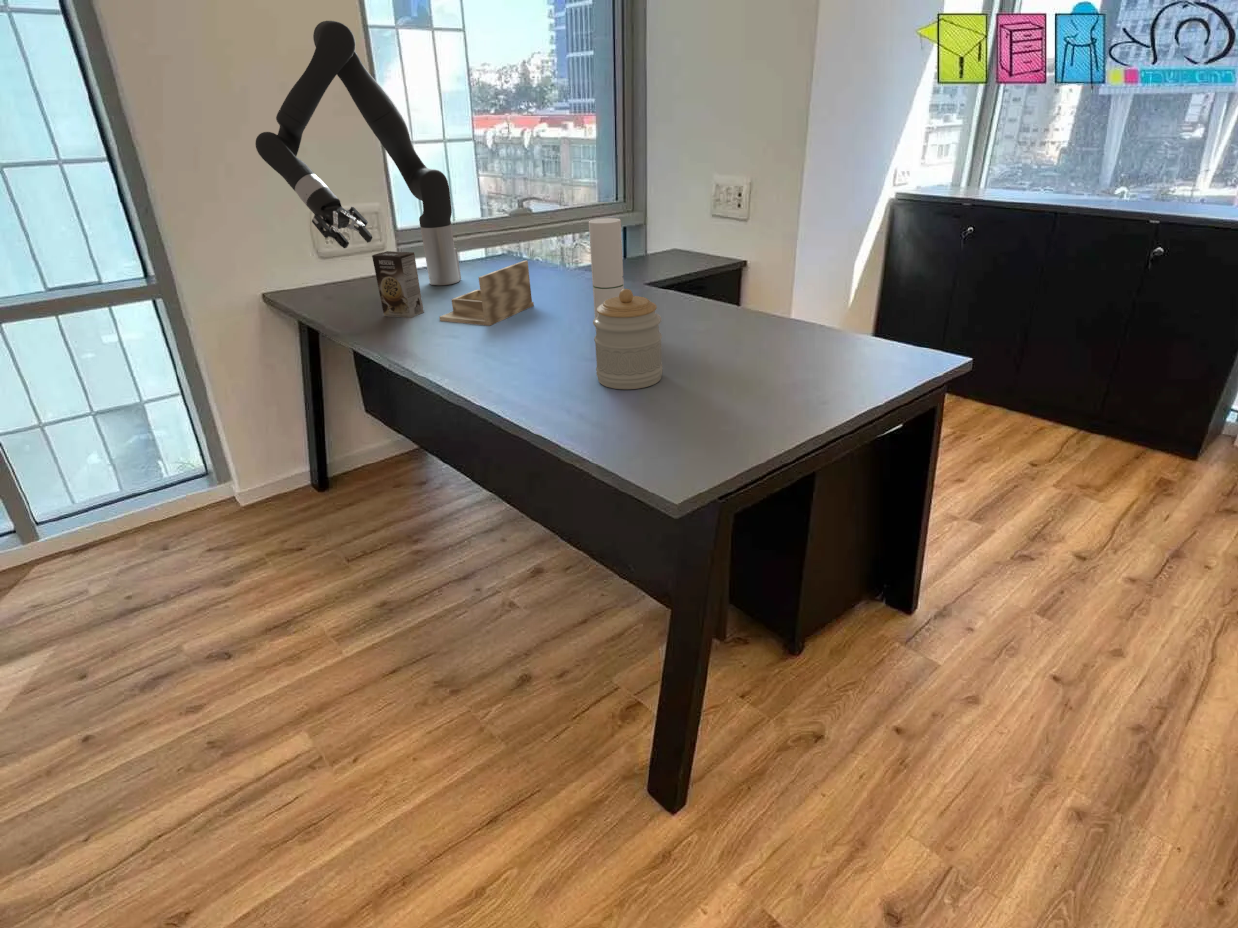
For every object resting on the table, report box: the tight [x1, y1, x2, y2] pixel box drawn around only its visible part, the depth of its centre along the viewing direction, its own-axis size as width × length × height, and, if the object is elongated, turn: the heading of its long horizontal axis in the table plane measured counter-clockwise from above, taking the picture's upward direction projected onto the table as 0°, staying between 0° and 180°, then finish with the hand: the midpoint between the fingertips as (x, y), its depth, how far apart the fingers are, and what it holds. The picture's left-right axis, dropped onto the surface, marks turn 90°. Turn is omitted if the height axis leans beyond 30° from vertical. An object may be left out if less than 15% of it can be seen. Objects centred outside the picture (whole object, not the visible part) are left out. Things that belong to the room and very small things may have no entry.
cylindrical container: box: [588, 217, 625, 319], centre depth 166 cm, size 7×7×25 cm
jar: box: [592, 288, 664, 390], centre depth 138 cm, size 13×13×18 cm
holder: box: [438, 260, 535, 327], centre depth 189 cm, size 20×16×12 cm
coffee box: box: [371, 250, 425, 319], centre depth 191 cm, size 9×6×16 cm
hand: (358, 243), depth 191 cm, fingers open, 8 cm apart
